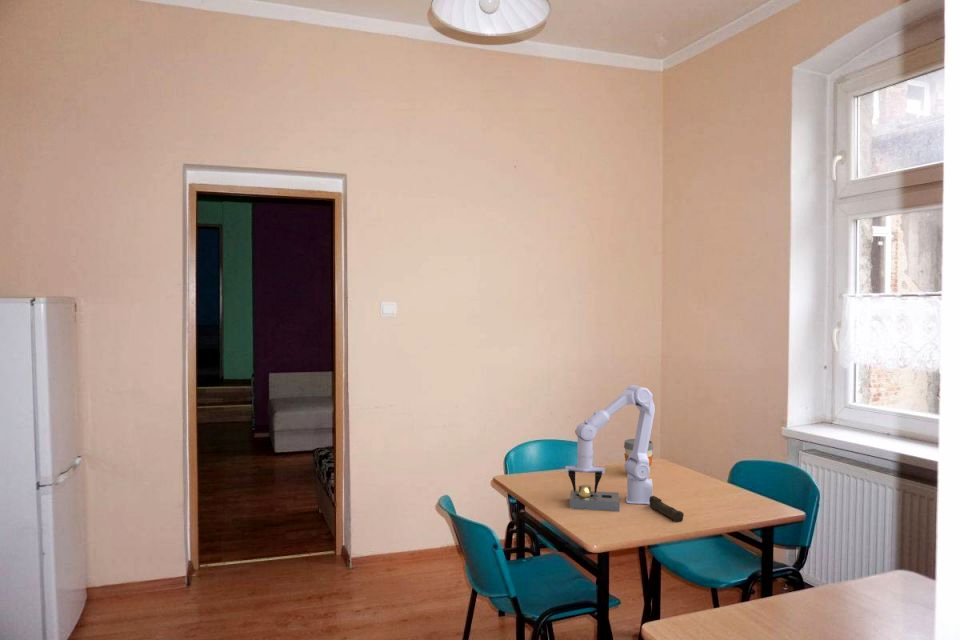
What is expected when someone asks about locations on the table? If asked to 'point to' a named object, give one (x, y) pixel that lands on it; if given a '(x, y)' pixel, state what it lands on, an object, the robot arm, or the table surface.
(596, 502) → the grey flat block
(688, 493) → the table surface
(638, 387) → the robot arm
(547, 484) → the table surface
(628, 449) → the reusable coffee cup
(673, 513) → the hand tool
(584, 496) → the brass fitting
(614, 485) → the table surface
